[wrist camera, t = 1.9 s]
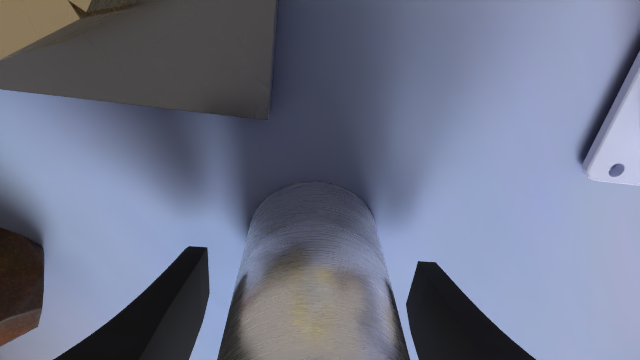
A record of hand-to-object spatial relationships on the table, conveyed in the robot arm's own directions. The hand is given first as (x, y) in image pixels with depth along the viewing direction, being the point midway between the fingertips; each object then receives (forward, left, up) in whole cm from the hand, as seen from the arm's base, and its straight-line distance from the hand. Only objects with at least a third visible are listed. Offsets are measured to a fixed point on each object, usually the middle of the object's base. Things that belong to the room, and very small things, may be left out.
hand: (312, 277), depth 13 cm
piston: (0, 0, -2) cm, 2 cm away
